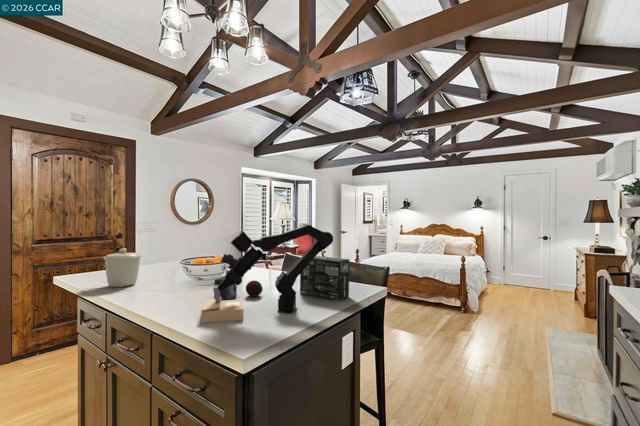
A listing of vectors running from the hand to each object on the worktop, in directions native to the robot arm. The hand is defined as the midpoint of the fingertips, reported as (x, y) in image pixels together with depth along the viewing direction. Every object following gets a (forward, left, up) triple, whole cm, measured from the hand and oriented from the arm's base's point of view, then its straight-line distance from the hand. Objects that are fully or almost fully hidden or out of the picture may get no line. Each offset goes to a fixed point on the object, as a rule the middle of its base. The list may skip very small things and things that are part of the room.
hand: (218, 289), depth 118 cm
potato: (0, -31, -11) cm, 32 cm away
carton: (-2, -1, -10) cm, 11 cm away
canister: (+82, -32, -11) cm, 89 cm away
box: (-33, -41, -11) cm, 53 cm away
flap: (+2, +1, -6) cm, 6 cm away
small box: (+10, -22, -11) cm, 26 cm away
